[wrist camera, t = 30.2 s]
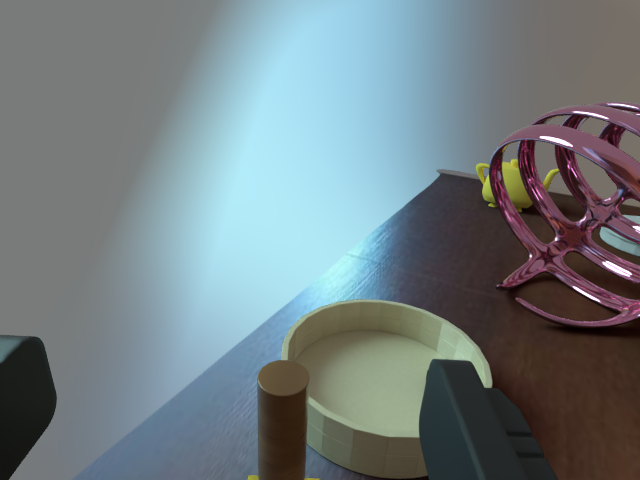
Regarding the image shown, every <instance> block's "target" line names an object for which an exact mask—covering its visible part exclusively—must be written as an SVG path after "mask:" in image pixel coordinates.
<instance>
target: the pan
mask: <svg viewBox="0 0 640 480" xmlns="http://www.w3.org/2000/svg"><path fill="white" fill-rule="evenodd" d="M433 359H448V360H467V361H471V362H472V363H473V365H474V367H475V369H476V371H477V373H478V375H479V377H480V379H481V381H482V383H483V385H484V387H485V388H492V383H493V382H492V377H491V372H490V367H489V364H488V362H487V360H486V359H485V357H484V355H483V354H482V352H481V350H480V348H479V347H478V346H477V345H476V344H475V343H474V342H473V341H472V340H471V339H470V338H469V337H468V336H467V335H466V334H465V333H464V332H463V331H461V330H460V329H458V328H457V327H455V326H454V325H452V324H451V323H450V322H448V321H447V320H445V319H443V318H441V317H438V316H436V315H434V314H432V313H430V312H428V311H425V310H423V309H419V308H416V307H413V306H410V305H406V304H403V303H397V302H391V301H385V300H366V299H360V300H359V299H358V300H349V301H340V302H336V303H332V304H329V305H326V306H322V307H319V308H317V309H315V310H313V311H312V312H310V313H308V314H306V315H304V316H303V317H301V318H300V319H299V320H298V321H297V322H296V323H295V324H294V325H293V326H292V327H291V328H290V330H289V332H288V334H287V336H286V338H285V339H284V341H283V345H282V357H281V360H290V361H295V362H297V363H299V364H301V365H303V366H304V367H305V368H306V369H307V371H308V373H309V376H310V383H309V403H308V423H307V444H308V445H309V446H310V447H311V448H313V449H314V450H315V451H317V452H318V453H319V454H320V455H322V456H323V457H325V458H327V459H329V460H330V461H332V462H334V463H335V464H338V465H340V466H342V467H345V468H347V469H349V470H352V471H355V472H358V473H362V474H365V475H370V476H375V477H380V478H392V479H407V478H417V477H423V476H428V473H427V469H426V465H425V461H424V457H423V453H422V449H421V445H420V438H419V414H420V409H421V404H422V399H423V394H424V389H425V384H426V375H427V370H429V365H430V363H431V361H432V360H433Z"/></svg>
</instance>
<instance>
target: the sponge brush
mask: <svg viewBox="0 0 640 480" xmlns="http://www.w3.org/2000/svg"><path fill="white" fill-rule="evenodd" d="M309 383H310V376H309V373H308V371H307V369H306V368H305V367H304V366H303V365H301V364H299V363H297V362H295V361H290V360H278V361H274V362H271V363H269V364H267V365H265V366H264V367H263V368H262V369H261V370H260V372H259V374H258V377H257V394H258V476H252V475H249V477H248V480H320V479H313V478H305V462H306V443H307V423H308V403H309Z"/></svg>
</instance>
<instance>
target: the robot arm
mask: <svg viewBox="0 0 640 480" xmlns="http://www.w3.org/2000/svg"><path fill="white" fill-rule="evenodd" d="M56 400H57V397H56V391H55V387H54V383H53V379H52V375H51V371H50V367H49V363H48V359H47V355H46V351H45V347H44V344H43V342H42V341H41V339H40V338H38V337H31V336H12V335H11V336H10V335H0V480H9V478H10V477H11V476H12V474H13V473H14V472H15V470H16V469H17V467H18V466H19V465H20V464H21V462H22V461H23V459H24V458H25V457H26V455H27V454H28V453H29V451H30V450H31V449H32V447H33V446H34V445H35V443H36V442H37V440H38V439H39V438H40V436H41V435H42V434H43V432H44V431H45V429H46V428H47V427H48V425H49V423H50V422H51V420H52V417H53V415H54V412H55V408H56ZM419 438H420V445H421V449H422V453H423V457H424V461H425V465H426V469H427V473H428V478H429V480H558V479H557V477H556V475H555V473H554V471H553V470H552V468H551V466H550V464H549V462H548V460H547V459H544V453H543V451H542V449H541V448H540V446H539V444H538V442H537V440H536V438H533V436H532V431H531V429H530V428H529V426H528V424H527V422H526V420H525V418H524V417H523V415H522V413H521V411H520V409H519V408H518V407H517V406H516V405H515V404H514V403H513V402H512V401H511V400H510V399H509V398H508V397H506V396H505V395H504V394H503V393H502V392H501V391H500V390H499V389H498V388H485V387H484V385H483V383H482V381H481V379H480V377H479V375H478V373H477V371H476V369H475V367H474V365H473V363H472V362H471V361H467V360H448V359H433V360H432V361H431V363H430V365H429V370H428V375H427V380H426V384H425V389H424V394H423V399H422V404H421V409H420V414H419Z"/></svg>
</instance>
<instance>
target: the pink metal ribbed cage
mask: <svg viewBox="0 0 640 480" xmlns="http://www.w3.org/2000/svg"><path fill="white" fill-rule="evenodd" d="M622 110H626V111H632V112H636V113H628V112H625V111H622ZM563 115H569V116H568V117H567V118H566V119H565V120H564V122H563V123H562V124H561V126H560V125H551V124H546V123H547V122H548V121H549V120H551V119H553V118H555V117H558V116H563ZM589 117H592V118H596V119H600V120H603V121H607V122H609V123H608V124H607V125H606V126H605V127H604V128H603V130H602V131H601V133H600V135H599V138H598V137H596V136H594V135H591V134H588V133H586V132H583V131H580V130H579V128H580V126H581V125H582V124H583V122H584V121H585V120H587V119H588V118H589ZM627 130H628V131H630V132H632V133H634V134H636V135H638V136H639V137H640V104H636V103H630V102H619V101H610V102H600V103H595V104H591V105H572V106H567V107H562V108H559V109H555V110H553V111H550V112H548V113H546V114H544V115H542V116H540V117H539V118H537V119H536V120H535V121H533V122H532V123H531V124H530V125H529V126H527V127H524V128H521V129H519V130H517V131H515V132H513V133H512V134H510V135H509V136H508V137H507V138H505V139H504V140H503V141H502V142H501V143H500V144H499V145H498V147H497V148H496V149H495V151H494V153H493V155H492V157H491V161H490V165H489V181H490V187H491V191H492V194H493V197H494V200H495V202H496V205H497V207H498V209H499V211H500V213H501V215H502V217H503V218H504V220H505V222H506V223H507V225H508V226H509V228H510V229H511V231H512V232H513V234H514V235H515V236H516V238H517V239H518V240H519V241H520V243H521V244H522V245H523V246H524V247H525V249H526V250H527V252H528V253H529V256H530V257H529V260H528V261H527V262H526V263H525V264H524V265H523V266H521V267H520V268H519V269H517V270H516V271H515V272H513V273H512V274H511V275H509V276H508V277H507V278H505V279H504V280H503V281H501V282H500V283H499V284H497V285H496V286H495V288H496V290H498V291H507V290H511V289H513V288H516V287H518V286H520V285H522V284H523V283H525V282H527V281H529V280H530V279H532V278H533V277H535V276H536V275H538V274H540V273H543V272H546V273H550V274H551V275H553V276H555V277H556V278H557V279H559V280H560V281H561V282H563V283H564V284H565V285H567V286H568V287H570V288H571V289H573V290H574V291H576V292H577V293H579V294H581V295H582V296H584V297H586V298H588V299H590V300H592V301H594V302H596V303H598V304H600V305H602V306H604V307H607V308H610V309H612V310H615V311H617V312H619V313H620V314H618V315H616V316H614V317H611V318H607V319H602V320H596V321H575V320H568V319H564V318H560V317H557V316H554V315H551V314H548V313H546V312H544V311H542V310H540V309H538V308H536V307H534V306H533V305H531V304H530V303H528V302H526V301H525V300H523V299H521V298H518V297H517V298H516V302H517V303H518V304H519V305H520V306H521V307H523V308H524V309H525V310H527V311H529V312H530V313H532V314H534V315H535V316H537V317H539V318H541V319H544V320H546V321H549V322H551V323H554V324H558V325H562V326H566V327H572V328H581V329H599V328H608V327H613V326H618V325H621V324H625V323H628V322H631V321H634V320H637V319H640V300H631V299H627V298H624V297H621V296H618V295H616V294H613V293H611V292H608V291H606V290H604V289H602V288H600V287H598V286H596V285H594V284H593V283H591V282H589V281H587V280H586V279H584V278H583V277H581V276H580V275H578V274H577V273H575V272H574V271H572V270H571V269H570V268H568V267H567V266H566V265H565V264H564V262H563V257H564V256H565V255H566V254H567V253H570V252H576V253H578V254H580V255H582V256H583V257H585V258H586V259H588V260H589V261H591V262H592V263H594V264H595V265H597V266H599V267H600V268H602V269H604V270H606V271H608V272H610V273H612V274H614V275H616V276H618V277H620V278H623V279H625V280H628V281H631V282H634V283H637V284H640V266H639V265H636V264H633V263H630V262H628V261H626V260H623V259H621V258H619V257H617V256H615V255H613V254H611V253H610V252H608V251H606V250H604V249H603V248H601V247H600V246H598V245H597V244H595V243H594V242H593V241H592V240H591V237H590V236H591V233H592V232H593V231H594V230H595V229H596V228H599V227H606V228H608V229H610V230H612V231H613V232H615V233H617V234H618V235H620V236H622V237H624V238H626V239H628V240H630V241H632V242H635V243H637V244H640V224H638V223H635V222H633V221H631V220H629V219H628V218H626V217H624V216H623V215H621V214H620V212H619V207H620V205H621V204H622V203H623V202H624V201H625V200H627V199H630V198H632V199H635V200H637V201H639V202H640V163H639V162H638V161H636V160H635V159H633V158H632V157H631V156H629V155H628V154H626V153H625V152H623V151H622V150H620V149H619V143H620V139H621V137H622V136H623V134H624V133H625V132H626V131H627ZM517 141H520V143H519V147H518V167H519V172H520V176H521V179H522V182H523V185H524V187H525V190H526V192H527V194H528V196H529V198H530V199H531V201H532V203H533V204H534V206H535V208H536V209H537V211H538V212H539V213H540V215H541V216H542V217H543V219H544V220H545V221H546V222H547V224H548V225H549V226H550V227H551V228H552V230H553V231H554V233H555V239H554V241H553V242H551V243H550V244H544V243H542V242H540V241H539V240H538V239H537V238H536V237H535V236H534V235H533V233H532V232H531V231H530V230H529V228H528V227H527V226H526V224H525V223H524V221H523V220H522V219H521V217H520V215H519V214H518V212H517V211H516V209H515V207H514V205H513V203H512V201H511V199H510V197H509V194H508V192H507V189H506V186H505V182H504V178H503V171H502V161H503V155H504V152H505V150H506V148H507V146H508V145H509V144H511V143H513V142H517ZM536 141H542V142H547V143H551V144H555V157H556V162H557V166H558V169H559V171H560V174H561V176H562V178H563V180H564V182H565V184H566V186H567V187H568V189H569V190H570V192H571V193H572V195H573V196H574V197H575V199H576V200H577V201H578V202H579V203H580V204H581V206H582V207H583V208H584V210H585V216H584V217H583V218H582V219H581V220H580V221H578V222H571V221H569V220H568V219H566V218H565V217H564V216H563V214H562V213H561V212H560V211H559V210H558V208H557V207H556V206H555V204H554V203H553V201H552V200H551V198H550V197H549V195H548V194H547V192H546V190H545V188H544V186H543V184H542V182H541V180H540V177H539V174H538V171H537V167H536V162H535V143H536ZM575 153H577V154H579V155H581V156H583V157H585V158H587V159H589V160H590V161H592V162H594V163H595V164H597V165H599V166H600V167H601V168H603V169H604V170H605V171H606V173H607V174H608V176H609V177H610V178H611V179H612V181H613V182H614V183H615V184H616V185H617V191H616V192H615V193H614V194H613V195H612V196H611V197H609V198H606V199H603V198H601V197H599V196H598V195H597V194H596V193H595V192H594V191H593V190H592V188H591V187H590V186H589V184H588V183H587V182H586V180H585V178H584V177H583V175H582V173H581V171H580V168H579V166H578V163H577V160H576V156H575Z"/></svg>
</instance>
